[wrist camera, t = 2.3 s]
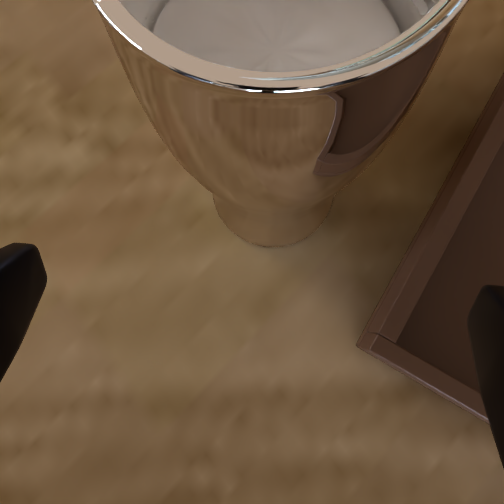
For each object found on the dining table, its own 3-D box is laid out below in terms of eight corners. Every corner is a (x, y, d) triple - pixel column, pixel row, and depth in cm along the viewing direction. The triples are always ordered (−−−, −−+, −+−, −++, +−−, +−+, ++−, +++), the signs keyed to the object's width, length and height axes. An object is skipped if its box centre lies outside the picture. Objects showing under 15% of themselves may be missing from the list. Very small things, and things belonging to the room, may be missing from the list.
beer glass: (286, 97, 22) (321, -369, 7) (371, 201, 21) (625, -84, 6) (177, 175, 21) (-33, -142, 7) (258, 285, 20) (227, 205, 6)
